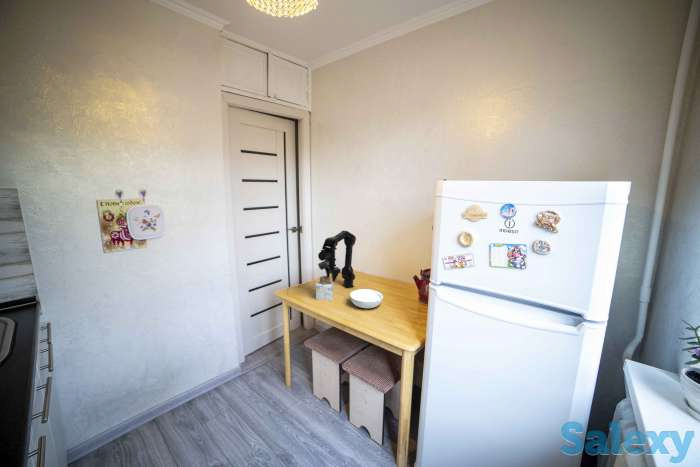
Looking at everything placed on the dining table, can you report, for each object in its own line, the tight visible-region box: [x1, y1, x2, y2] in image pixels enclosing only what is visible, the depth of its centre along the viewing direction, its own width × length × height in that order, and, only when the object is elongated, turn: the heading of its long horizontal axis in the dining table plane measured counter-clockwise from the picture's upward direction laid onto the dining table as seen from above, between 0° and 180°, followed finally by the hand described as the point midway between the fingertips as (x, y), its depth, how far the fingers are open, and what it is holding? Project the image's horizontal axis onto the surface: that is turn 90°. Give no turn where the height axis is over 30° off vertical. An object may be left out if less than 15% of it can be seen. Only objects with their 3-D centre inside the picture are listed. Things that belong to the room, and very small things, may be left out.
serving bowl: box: [349, 288, 384, 309], centre depth 176 cm, size 21×21×7 cm
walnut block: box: [319, 275, 331, 285], centre depth 183 cm, size 5×5×4 cm
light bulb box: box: [315, 280, 334, 301], centre depth 184 cm, size 11×7×11 cm, turn 84°
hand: (330, 279), depth 185 cm, fingers open, 9 cm apart
